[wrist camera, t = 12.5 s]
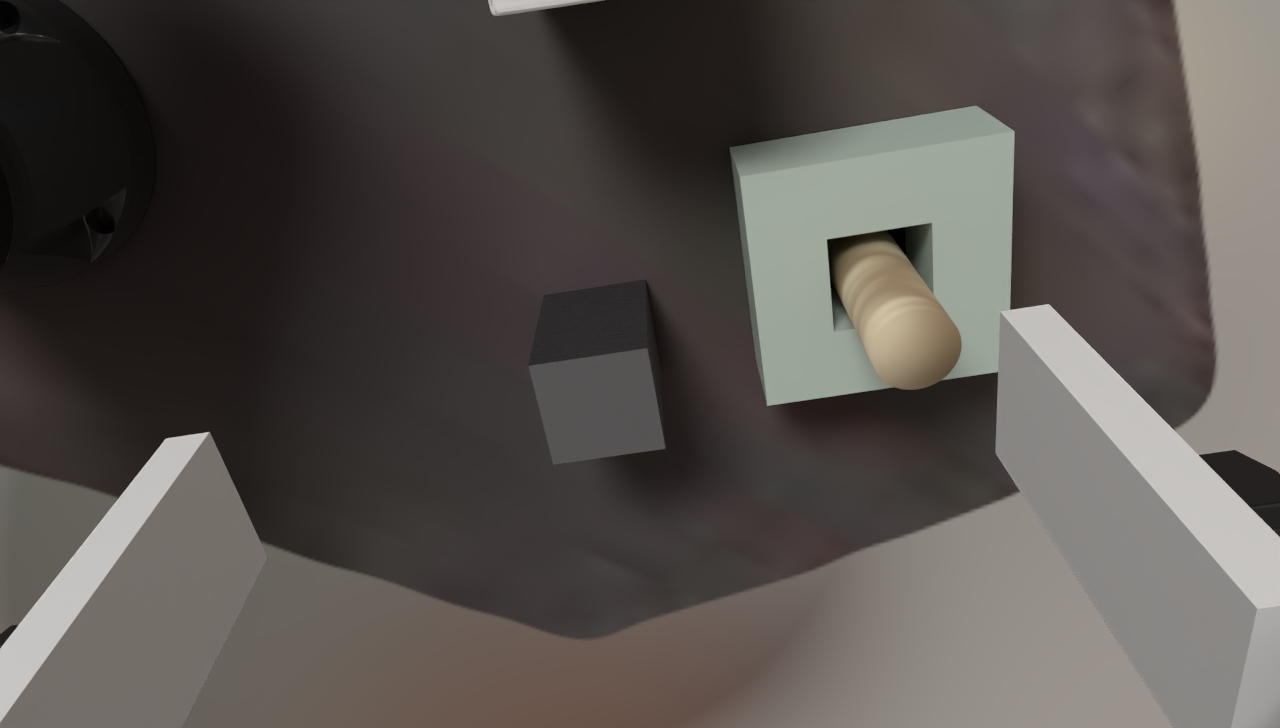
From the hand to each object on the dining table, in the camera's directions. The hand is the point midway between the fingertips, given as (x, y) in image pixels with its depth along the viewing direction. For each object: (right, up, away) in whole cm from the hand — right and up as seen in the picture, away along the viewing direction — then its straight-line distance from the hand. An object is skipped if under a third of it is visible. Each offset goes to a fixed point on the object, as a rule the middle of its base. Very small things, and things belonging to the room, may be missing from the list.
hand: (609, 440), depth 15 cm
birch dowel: (+12, +7, +32) cm, 35 cm away
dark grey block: (-1, +3, +35) cm, 35 cm away
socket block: (+12, +8, +32) cm, 35 cm away
